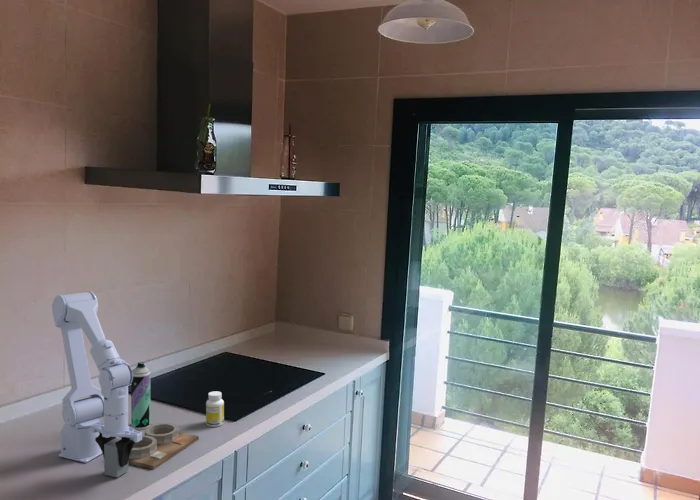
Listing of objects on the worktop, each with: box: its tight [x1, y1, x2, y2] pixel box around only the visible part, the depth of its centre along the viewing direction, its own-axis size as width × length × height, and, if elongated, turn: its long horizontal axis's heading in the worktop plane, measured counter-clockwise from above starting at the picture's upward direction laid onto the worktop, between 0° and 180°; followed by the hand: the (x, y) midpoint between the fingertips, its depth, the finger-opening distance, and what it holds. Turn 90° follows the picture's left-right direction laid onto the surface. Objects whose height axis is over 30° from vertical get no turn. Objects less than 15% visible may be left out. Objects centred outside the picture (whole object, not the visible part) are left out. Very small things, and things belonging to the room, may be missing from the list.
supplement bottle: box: [205, 390, 225, 428], centre depth 181 cm, size 5×5×10 cm
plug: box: [103, 437, 129, 478], centre depth 148 cm, size 4×4×8 cm
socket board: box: [128, 422, 200, 470], centre depth 163 cm, size 14×20×4 cm
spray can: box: [130, 361, 151, 431], centre depth 176 cm, size 6×6×20 cm
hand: (116, 463), depth 148 cm, fingers closed on plug, 4 cm apart
